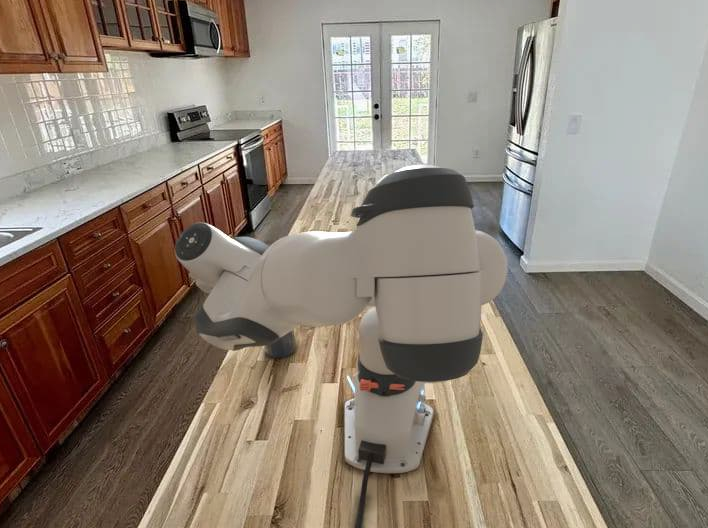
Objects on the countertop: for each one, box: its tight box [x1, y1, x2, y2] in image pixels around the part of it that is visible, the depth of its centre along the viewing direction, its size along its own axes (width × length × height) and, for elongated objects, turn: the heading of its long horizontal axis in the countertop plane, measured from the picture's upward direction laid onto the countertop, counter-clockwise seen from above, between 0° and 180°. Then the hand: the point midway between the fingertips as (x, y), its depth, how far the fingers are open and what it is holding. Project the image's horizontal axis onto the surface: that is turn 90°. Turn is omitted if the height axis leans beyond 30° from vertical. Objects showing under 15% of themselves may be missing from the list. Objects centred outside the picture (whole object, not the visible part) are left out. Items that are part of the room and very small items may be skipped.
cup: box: [264, 329, 297, 359], centre depth 111 cm, size 8×8×10 cm
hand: (260, 294), depth 97 cm, fingers open, 8 cm apart
